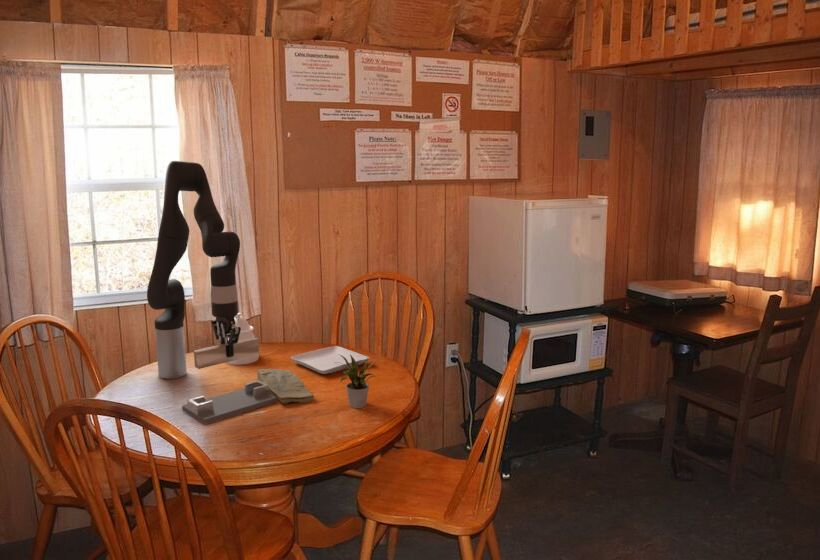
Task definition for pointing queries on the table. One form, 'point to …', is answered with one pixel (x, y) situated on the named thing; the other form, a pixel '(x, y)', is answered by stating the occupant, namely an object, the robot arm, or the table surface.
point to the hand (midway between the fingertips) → (227, 355)
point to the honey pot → (244, 334)
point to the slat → (218, 353)
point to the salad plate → (328, 359)
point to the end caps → (202, 407)
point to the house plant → (356, 384)
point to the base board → (231, 405)
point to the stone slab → (285, 385)
